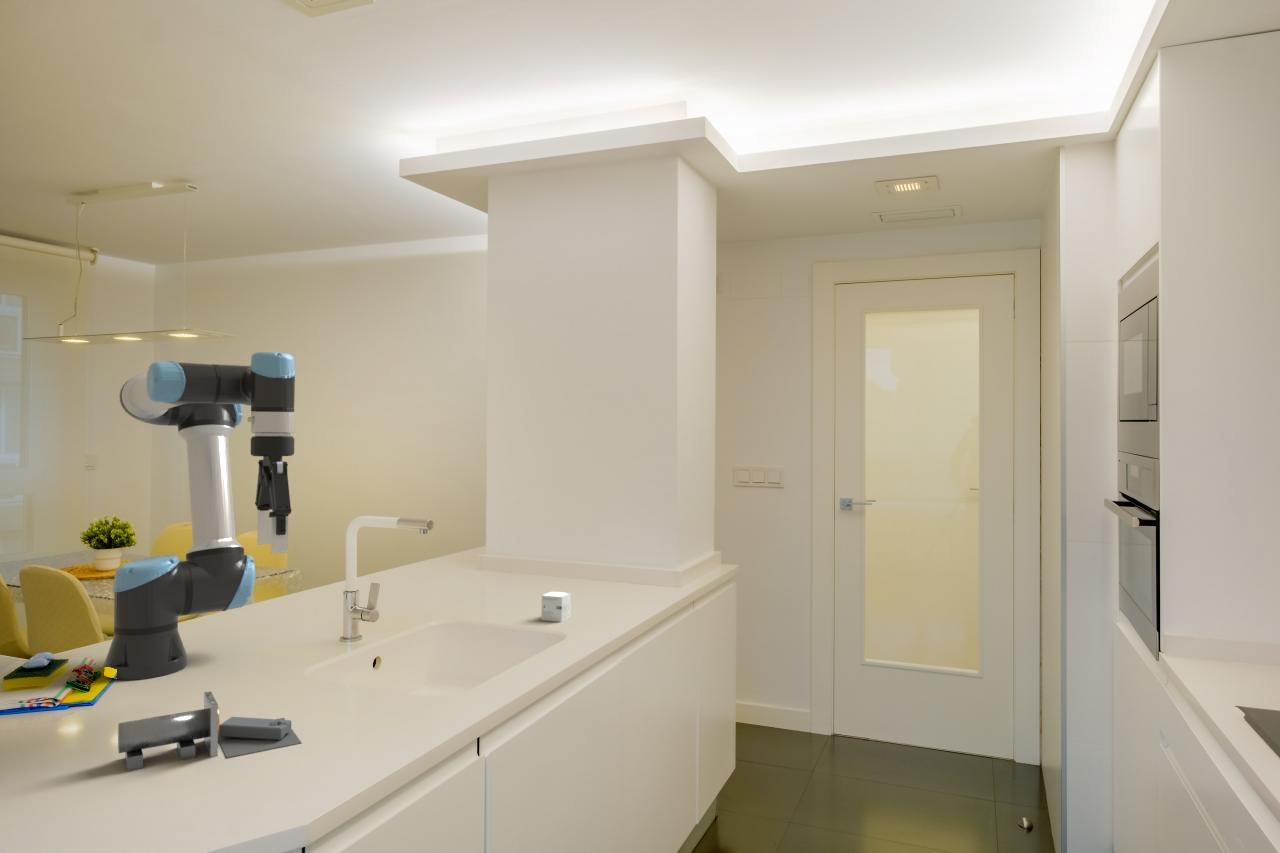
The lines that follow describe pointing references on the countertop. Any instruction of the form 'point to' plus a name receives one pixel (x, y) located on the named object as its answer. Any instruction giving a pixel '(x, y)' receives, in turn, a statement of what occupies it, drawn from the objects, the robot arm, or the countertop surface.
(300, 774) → the countertop surface
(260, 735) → the bracket
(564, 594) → the skincare box
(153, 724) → the pipe fixture
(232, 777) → the countertop surface
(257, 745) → the mount pad
